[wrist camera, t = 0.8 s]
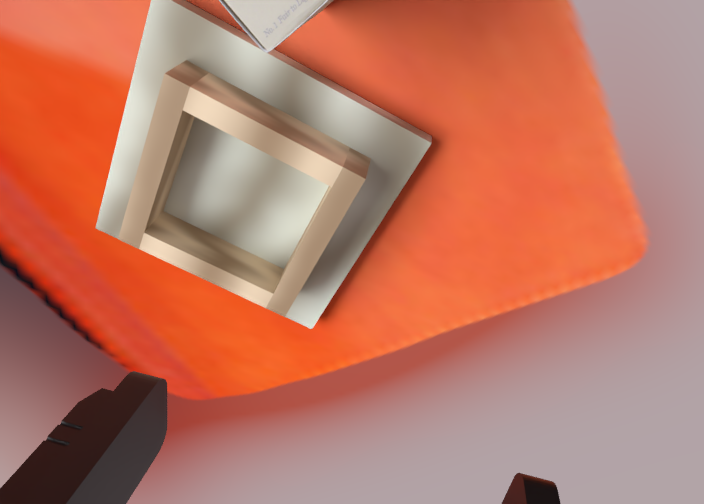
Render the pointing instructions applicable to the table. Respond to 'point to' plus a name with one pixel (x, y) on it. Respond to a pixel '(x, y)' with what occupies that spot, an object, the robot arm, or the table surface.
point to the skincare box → (272, 18)
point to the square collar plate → (250, 164)
